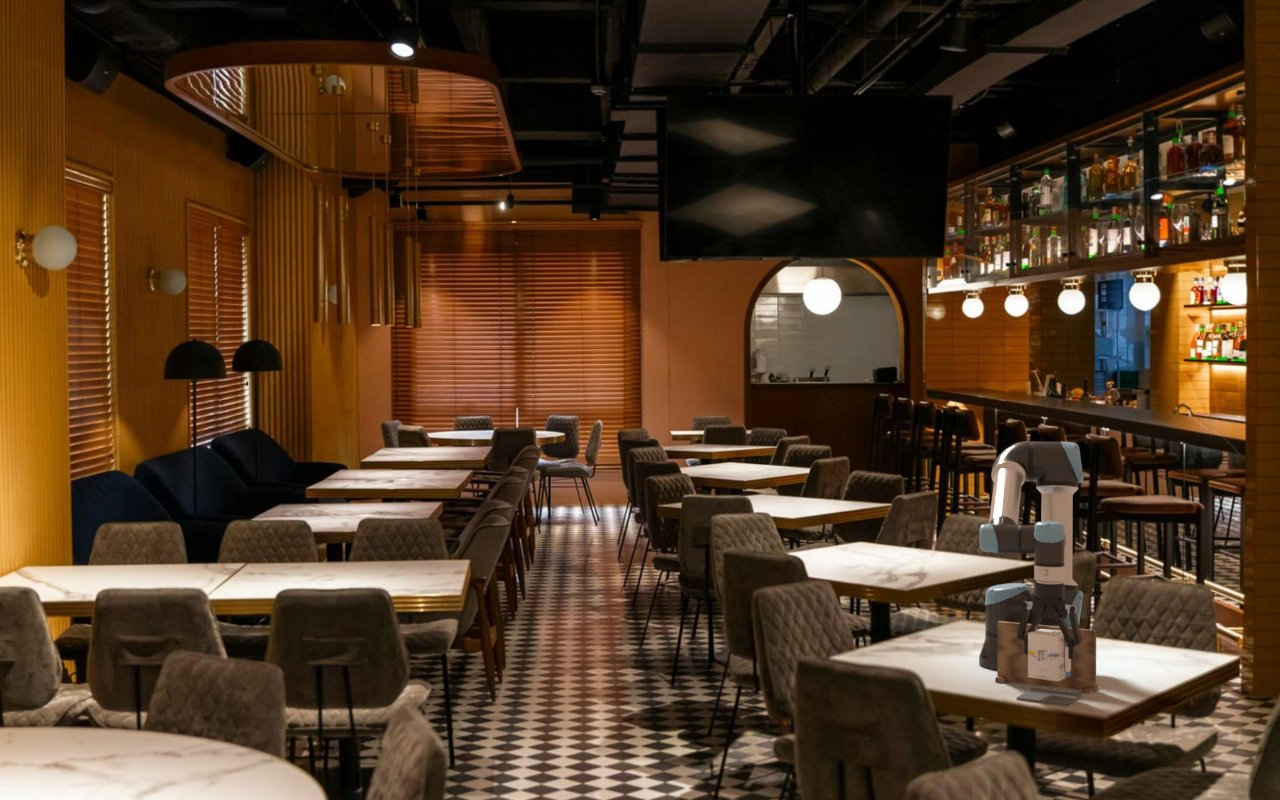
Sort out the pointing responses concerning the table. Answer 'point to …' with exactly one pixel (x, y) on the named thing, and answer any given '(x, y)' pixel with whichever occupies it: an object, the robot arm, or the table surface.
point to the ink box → (1047, 655)
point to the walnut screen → (1016, 661)
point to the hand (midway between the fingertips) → (1049, 669)
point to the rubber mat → (1049, 696)
